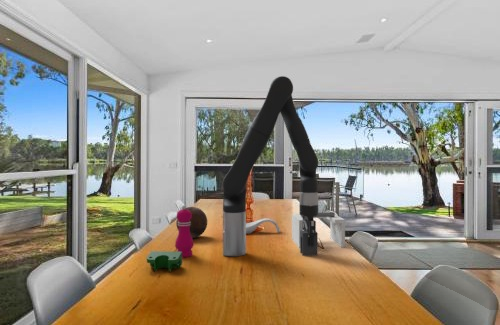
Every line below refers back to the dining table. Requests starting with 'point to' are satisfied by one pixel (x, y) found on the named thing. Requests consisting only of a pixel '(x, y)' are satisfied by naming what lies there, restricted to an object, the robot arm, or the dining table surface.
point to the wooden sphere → (196, 222)
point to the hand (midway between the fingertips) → (308, 243)
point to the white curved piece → (253, 225)
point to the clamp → (165, 259)
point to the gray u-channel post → (304, 244)
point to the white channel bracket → (335, 227)
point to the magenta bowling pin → (184, 233)
